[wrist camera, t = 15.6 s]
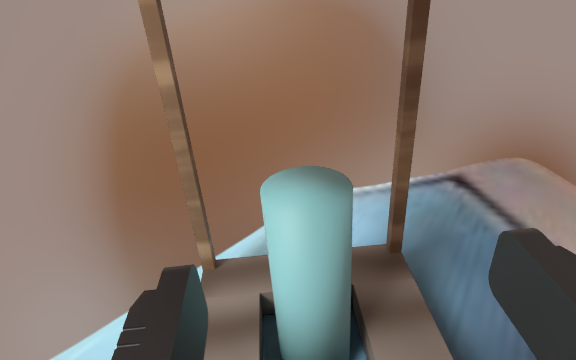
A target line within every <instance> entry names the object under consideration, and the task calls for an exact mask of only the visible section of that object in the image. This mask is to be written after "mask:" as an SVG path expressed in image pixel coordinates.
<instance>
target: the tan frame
mask: <svg viewBox="0 0 576 360" xmlns="http://www.w3.org/2000/svg"><path fill="white" fill-rule="evenodd" d="M138 2H139V7H140V11H141V15H142V19H143V23H144V27H145V32H146V36H147V40H148V44H149V48H150V52H151V57H152V61H153V65H154V69H155V73H156V77H157V81H158V85H159V90H160V94H161V98H162V102H163V106H164V110H165V114H166V119H167V123H168V127H169V131H170V135H171V140H172V144H173V148H174V152H175V156H176V160H177V165H178V169H179V173H180V177H181V181H182V185H183V189H184V194H185V198H186V202H187V206H188V210H189V214H190V218H191V222H192V227H193V231H194V235H195V239H196V243H197V247H198V252H199V256H200V260H201V264H202V268H203V274H202V279H201V286H202V289H203V292H204V296H205V299H206V303H207V308H208V332H207V339H206V346H205V354H204V360H263V315H267V314H276V313H275V305H274V298H273V290H272V282H271V274H270V266H269V258H268V255H264V256H253V257H242V258H231V259H220V260H216V259H215V254H214V250H213V245H212V240H211V235H210V231H209V226H208V222H207V217H206V212H205V207H204V203H203V198H202V193H201V189H200V184H199V179H198V175H197V170H196V166H195V161H194V156H193V151H192V146H191V142H190V137H189V132H188V128H187V123H186V118H185V114H184V109H183V104H182V100H181V95H180V91H179V86H178V81H177V77H176V72H175V67H174V63H173V58H172V53H171V49H170V44H169V39H168V34H167V29H166V25H165V20H164V16H163V11H162V7H161V1H160V0H138ZM429 9H430V0H408V7H407V18H406V30H405V41H404V52H403V63H402V74H401V86H400V97H399V108H398V120H397V130H396V142H395V153H394V164H393V176H392V187H391V198H390V209H389V220H388V231H387V243H386V244H383V245H372V246H361V247H352V261H351V306H353V309H354V313H355V317H356V320H357V324H358V328H359V331H360V335H361V339H362V343H363V346H364V350H365V354H366V357H367V360H453V358H452V356H451V354H450V352H449V349H448V347H447V345H446V343H445V341H444V339H443V337H442V335H441V333H440V331H439V329H438V327H437V325H436V323H435V321H434V319H433V317H432V315H431V313H430V311H429V308H428V306H427V304H426V302H425V300H424V298H423V296H422V294H421V292H420V290H419V288H418V286H417V284H416V282H415V280H414V278H413V276H412V274H411V272H410V269H409V267H408V265H407V263H406V261H405V259H404V257H403V255H402V253H401V249H402V240H403V232H404V223H405V215H406V206H407V198H408V189H409V180H410V172H411V163H412V154H413V146H414V137H415V129H416V120H417V111H418V103H419V95H420V86H421V77H422V68H423V60H424V52H425V43H426V42H425V41H426V34H427V26H428V16H429Z"/></svg>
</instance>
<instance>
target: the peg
mask: <svg viewBox="0 0 576 360" xmlns="http://www.w3.org/2000/svg"><path fill="white" fill-rule="evenodd" d="M260 195H261V202H262V211H263V218H264V226H265V234H266V242H267V250H268V258H269V266H270V274H271V282H272V290H273V298H274V305H275V313H276V321H277V329H278V337H279V345H280V353H281V360H349V359H350V317H351V261H352V206H353V186H352V183H351V181H350V180H349V179H348V177H346V176H345V175H344V174H342V173H340V172H338V171H336V170H333V169H330V168H325V167H318V166H302V167H294V168H290V169H286V170H283V171H280V172H278V173H276V174H274V175H272V176H270V177H269V178H268V179H267V180H266V181H265V182H264V183H263V185H262V187H261V190H260Z"/></svg>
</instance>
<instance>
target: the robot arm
mask: <svg viewBox="0 0 576 360" xmlns="http://www.w3.org/2000/svg"><path fill="white" fill-rule="evenodd" d="M489 284H490V288H491V291H492V293H493V295H494V297H495V298H496V300H497V301H498V303H499V304H500V306H501V307H502V309H503V310H504V312H505V313H506V314H507V316H508V317H509V319H510V320H511V322H512V323H513V325H514V326H515V328H516V329H517V330H518V332H519V333H520V335H521V336H522V338H523V339H524V341H525V342H526V344H527V345H528V346H529V348H530V349H531V351H532V352H533V354H534V355H535V357H536V358H537V360H576V255H575V254H574V253H572V252H570V251H568V250H567V249H565V248H563V247H561V246H555V245H554V244H553V243H552V242H551V241H550V240H549V239H548V238H547V237H546V236H545V235H544V234H543V233H542V232H540V231H539V230H537V229H535V228H529V229H520V230H511V231H503V232H502V233H501V234H500V235H499V238H498V241H497V245H496V248H495V252H494V256H493V259H492V263H491V267H490V270H489ZM207 332H208V308H207V303H206V299H205V296H204V292H203V289H202V286H201V282H200V279H199V275H198V272H197V269H196V267H195V265H185V266H176V267H167V268H164V269H163V271H162V273H161V277H160V280H159V283H158V287H157V289H156V290H147V291H144V292H143V293H142V294H141V295H140V297H139V298H138V299H137V300H136V302H135V303H134V304H133V305H132V306H131V308H130V309H129V312H128V315H127V318H126V320H125V323H124V326H123V332H121V334H120V337H119V340H118V343H117V349H115V351H114V354H113V356H112V359H111V360H204V354H205V346H206V339H207Z"/></svg>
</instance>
